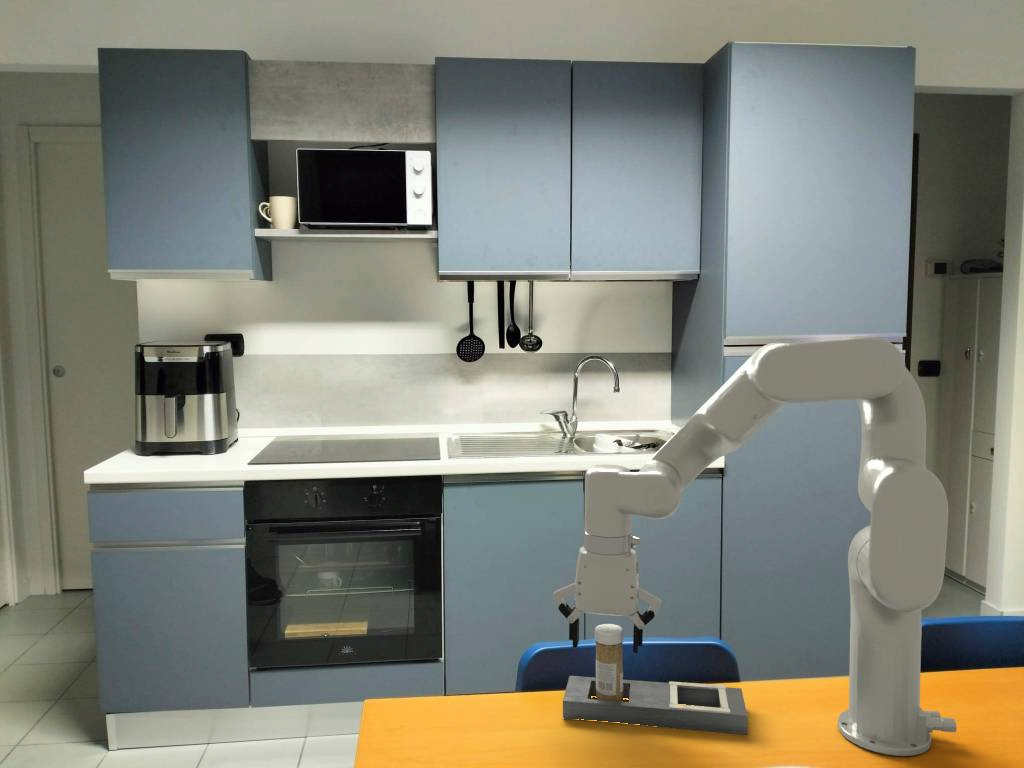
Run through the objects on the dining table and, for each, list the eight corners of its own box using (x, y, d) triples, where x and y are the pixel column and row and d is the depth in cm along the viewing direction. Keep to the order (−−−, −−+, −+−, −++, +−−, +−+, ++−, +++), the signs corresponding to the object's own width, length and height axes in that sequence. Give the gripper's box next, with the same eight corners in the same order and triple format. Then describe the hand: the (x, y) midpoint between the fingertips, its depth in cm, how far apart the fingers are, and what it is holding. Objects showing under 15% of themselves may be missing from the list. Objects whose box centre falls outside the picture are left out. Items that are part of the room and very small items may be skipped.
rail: (741, 706, 124) (741, 686, 123) (747, 734, 115) (747, 713, 114) (569, 692, 129) (569, 673, 129) (563, 719, 120) (562, 698, 120)
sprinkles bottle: (629, 709, 123) (629, 627, 122) (611, 719, 120) (611, 635, 119) (607, 699, 126) (606, 620, 126) (589, 709, 123) (588, 628, 122)
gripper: (662, 540, 124) (660, 642, 125) (557, 533, 127) (555, 633, 128) (662, 553, 116) (660, 662, 117) (550, 545, 120) (549, 651, 121)
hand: (605, 647), depth 123 cm, fingers open, 9 cm apart
